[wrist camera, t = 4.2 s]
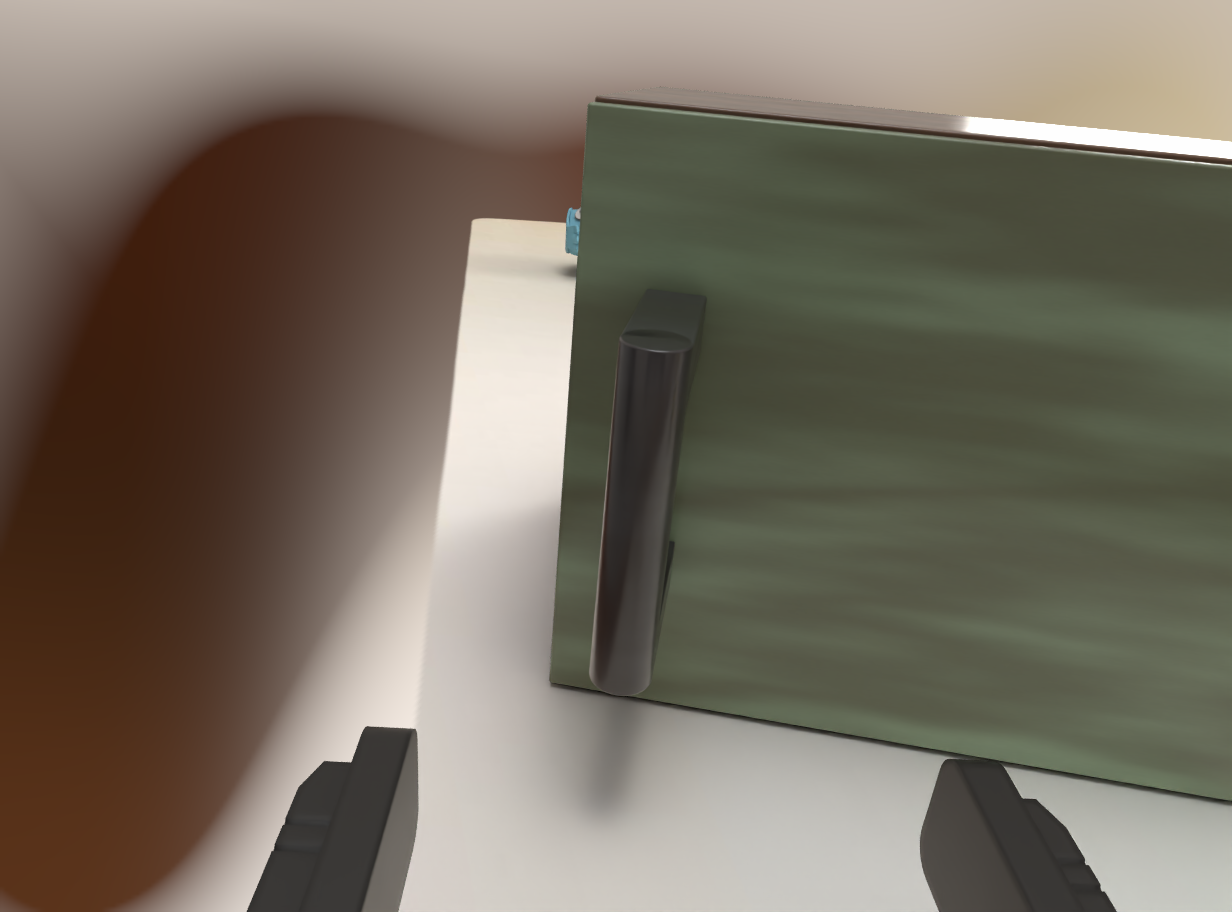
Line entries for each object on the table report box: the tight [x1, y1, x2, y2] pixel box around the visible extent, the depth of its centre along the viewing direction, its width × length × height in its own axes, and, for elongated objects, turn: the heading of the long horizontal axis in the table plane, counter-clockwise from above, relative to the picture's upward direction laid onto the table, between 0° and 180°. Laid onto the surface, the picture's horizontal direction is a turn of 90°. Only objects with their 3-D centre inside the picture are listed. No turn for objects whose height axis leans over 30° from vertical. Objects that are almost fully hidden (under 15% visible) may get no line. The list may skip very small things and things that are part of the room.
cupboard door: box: [549, 102, 1232, 801], centre depth 24 cm, size 7×24×20 cm, turn 81°
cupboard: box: [595, 87, 1232, 165], centre depth 35 cm, size 16×24×20 cm, turn 81°
